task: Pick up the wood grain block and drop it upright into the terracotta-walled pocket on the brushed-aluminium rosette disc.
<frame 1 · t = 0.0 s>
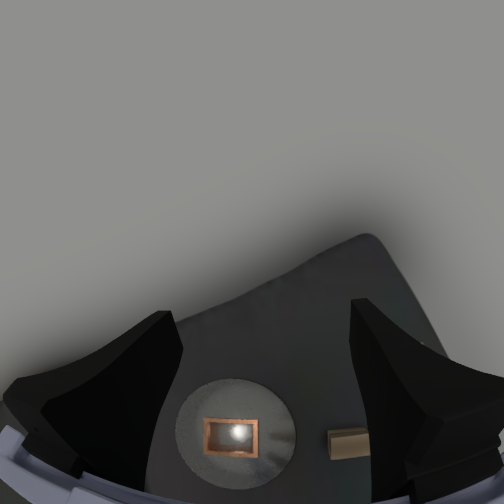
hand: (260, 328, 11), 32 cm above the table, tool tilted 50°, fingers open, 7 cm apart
wood grain block: (344, 438, 33), on the table
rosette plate: (234, 435, 36), on the table
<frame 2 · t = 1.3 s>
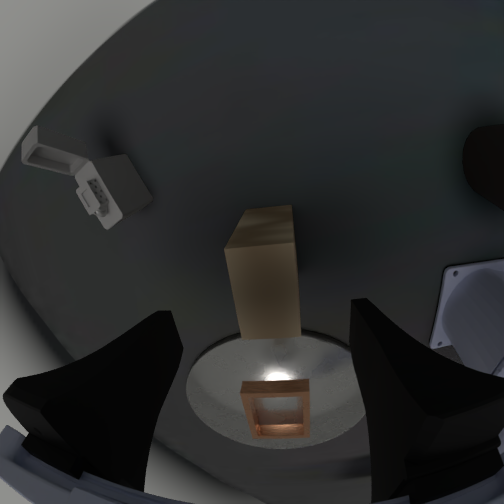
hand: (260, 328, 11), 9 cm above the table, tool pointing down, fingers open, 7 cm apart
lighter: (122, 165, 19), on the table
coffee cup: (486, 161, 15), on the table
wood grain block: (273, 242, 20), on the table
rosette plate: (279, 398, 26), on the table
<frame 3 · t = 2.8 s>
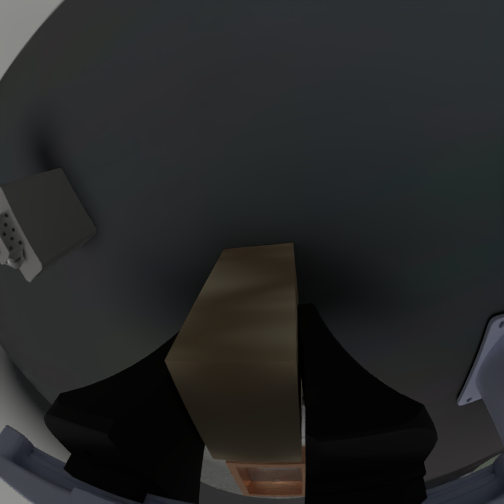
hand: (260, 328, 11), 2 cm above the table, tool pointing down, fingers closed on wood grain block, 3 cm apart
lighter: (59, 183, 13), on the table
wood grain block: (265, 296, 13), on the table, touching gripper
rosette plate: (274, 458, 19), on the table
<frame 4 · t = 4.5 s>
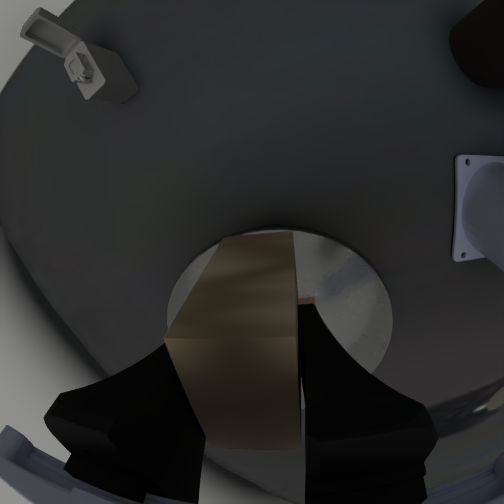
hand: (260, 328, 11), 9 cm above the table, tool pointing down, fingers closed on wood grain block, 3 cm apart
lighter: (112, 64, 16), on the table
coffee cup: (475, 54, 12), on the table
wood grain block: (264, 285, 13), point 7 cm above the table, touching gripper
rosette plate: (279, 334, 23), on the table
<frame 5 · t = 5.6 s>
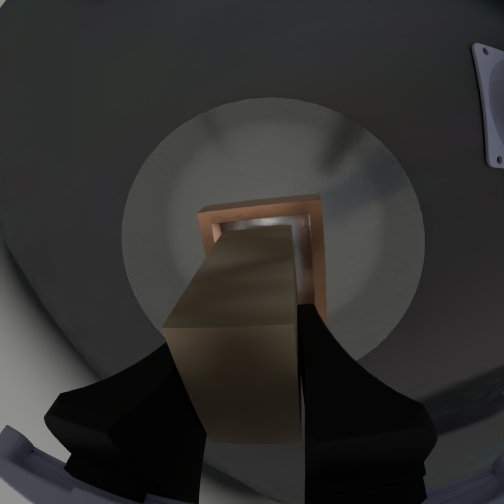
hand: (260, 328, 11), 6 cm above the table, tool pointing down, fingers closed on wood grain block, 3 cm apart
wood grain block: (263, 279, 13), point 3 cm above the table, touching gripper
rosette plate: (270, 261, 17), on the table
when the fingers open (4 cm above the table, at t = 6.2 s): wood grain block stays where it is, resting on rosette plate.
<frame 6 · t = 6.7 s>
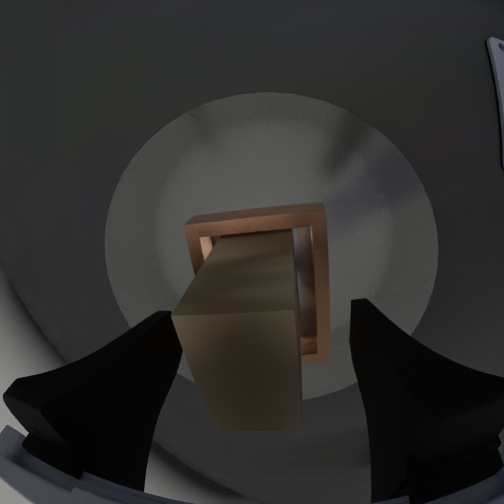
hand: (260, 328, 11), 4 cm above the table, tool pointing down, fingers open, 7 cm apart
wood grain block: (265, 274, 14), point 1 cm above the table, touching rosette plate
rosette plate: (268, 276, 15), on the table
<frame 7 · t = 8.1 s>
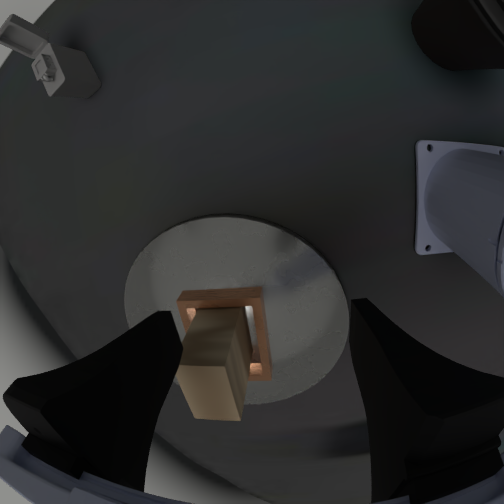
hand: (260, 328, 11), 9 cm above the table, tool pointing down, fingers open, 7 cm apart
lighter: (80, 62, 16), on the table
coffee cup: (442, 38, 13), on the table
wood grain block: (228, 326, 22), point 1 cm above the table, touching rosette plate
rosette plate: (232, 325, 23), on the table
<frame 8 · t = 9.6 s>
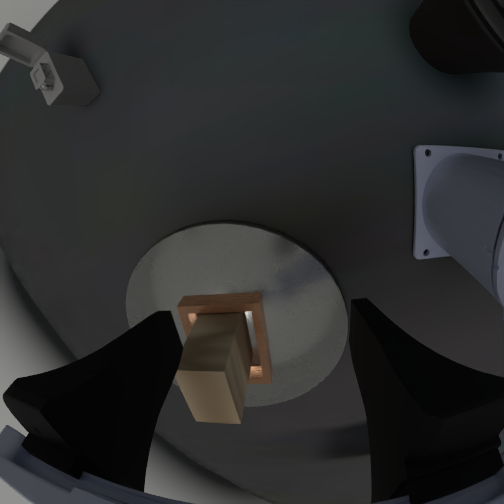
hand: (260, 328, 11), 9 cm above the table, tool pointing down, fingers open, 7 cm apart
lighter: (79, 69, 16), on the table
coffee cup: (440, 41, 13), on the table
wood grain block: (229, 330, 22), point 1 cm above the table, touching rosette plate
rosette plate: (232, 329, 23), on the table
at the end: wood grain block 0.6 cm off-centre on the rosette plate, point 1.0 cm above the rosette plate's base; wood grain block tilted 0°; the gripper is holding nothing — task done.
